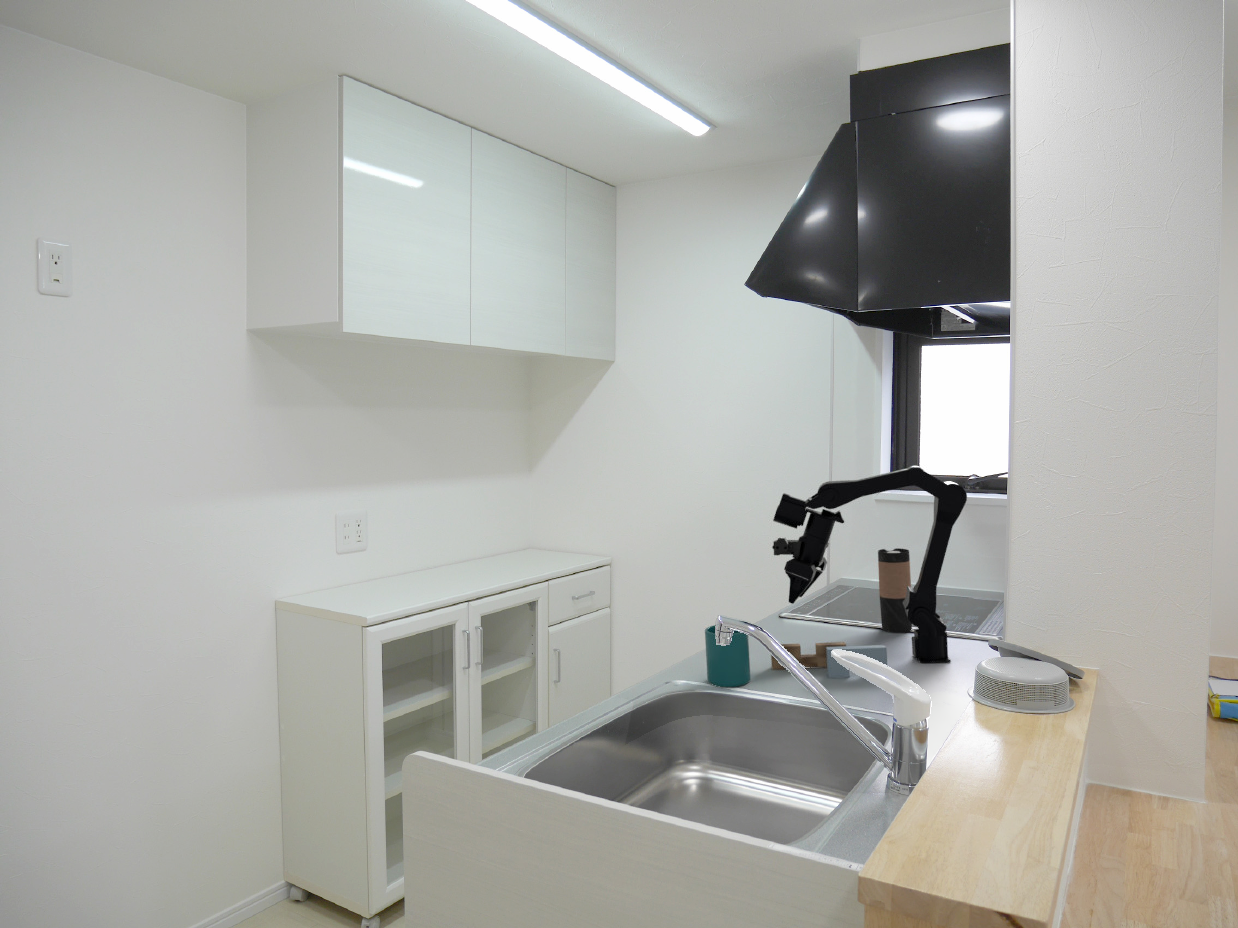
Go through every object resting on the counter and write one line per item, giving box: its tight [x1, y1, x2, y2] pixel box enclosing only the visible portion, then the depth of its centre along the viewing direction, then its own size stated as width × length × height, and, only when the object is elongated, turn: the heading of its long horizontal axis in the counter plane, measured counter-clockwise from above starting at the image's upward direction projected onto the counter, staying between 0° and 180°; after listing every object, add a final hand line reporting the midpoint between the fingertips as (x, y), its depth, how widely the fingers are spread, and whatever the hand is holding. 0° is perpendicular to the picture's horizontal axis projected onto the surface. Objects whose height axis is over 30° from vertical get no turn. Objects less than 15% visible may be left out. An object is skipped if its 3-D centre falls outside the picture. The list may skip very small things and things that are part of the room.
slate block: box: [826, 644, 888, 679], centre depth 172 cm, size 12×2×6 cm, turn 85°
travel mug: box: [877, 547, 913, 634], centre depth 206 cm, size 8×8×20 cm
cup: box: [704, 624, 751, 688], centre depth 174 cm, size 9×12×11 cm
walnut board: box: [770, 641, 847, 671], centre depth 180 cm, size 16×2×5 cm, turn 85°
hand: (795, 599), depth 187 cm, fingers open, 9 cm apart
